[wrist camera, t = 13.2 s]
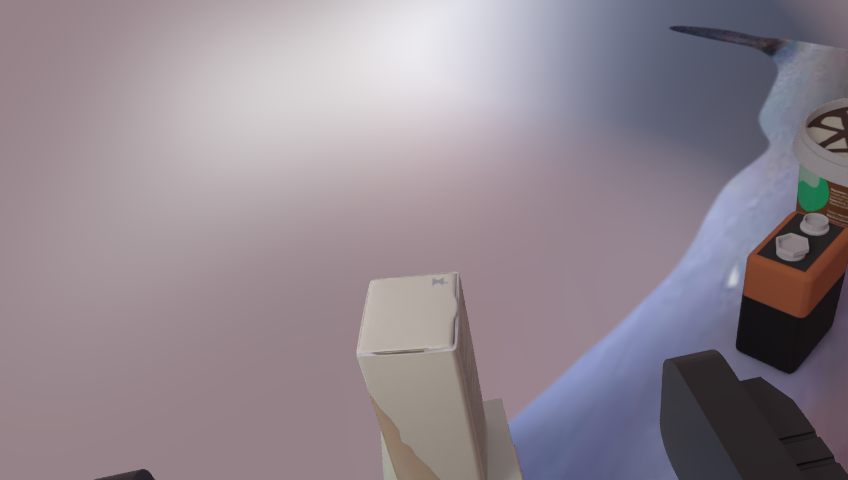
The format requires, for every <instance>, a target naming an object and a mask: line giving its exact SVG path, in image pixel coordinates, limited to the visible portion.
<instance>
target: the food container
mask: <svg viewBox="0 0 848 480" xmlns="http://www.w3.org/2000/svg"><path fill="white" fill-rule="evenodd" d="M793 152H794V155H795V157H796V158H797V160H798V161H799V162H800V169H799V181H798V194H797V206H796V211H797V212H801V213H804V214H810V213H818V214H822V215H824V216H826V217H827V218H828V220H829V222H833V223H836V224H839V225H842V226H845V227H848V98H844V99H839V100H835V101H831V102H829V103H826V104H823V105H821V106H819V107H817V108H816V109H814V110H813V111H812V112H810V114H809V115H808V116H807V117H806V119H805V120H804V121H803V122H802V124H801V126H800V128H799V130H798V133H797V135H796V137H795V139H794V142H793Z"/></svg>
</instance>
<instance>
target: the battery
mask: <svg viewBox="0 0 848 480" xmlns="http://www.w3.org/2000/svg"><path fill="white" fill-rule="evenodd" d="M847 263H848V227H845V226H842V225H839V224H836V223H833V222H829V220H828V218H827V217H826V216H824V215H822V214H818V213H810V214H804V213H801V212H797V211H795V212H792V213H791V214H790V215H788V216H787V217H786V218H785V219H784V220H783V221H782V222H781V223H780V224H779V225H778V226H777V227H776V228H775V229H774V230H773V231H772V232H771V233H770V234H769V235H768V236H767V237H766V238H765V239H764V240H763V241H762V242H761V243H760V244H759V245H758V246H757V247H756V248H755V249H754V250H753V251H752V252H751V253H750V255H749V256H748V258H747V265H746V273H745V280H744V287H743V295H742V302H741V309H740V317H739V324H738V331H737V339H736V348H737V350H739V351H741V352H743V353H745V354H747V355H749V356H751V357H753V358H755V359H758V360H760V361H762V362H764V363H766V364H768V365H770V366H773V367H775V368H777V369H779V370H781V371H783V372H785V373H789V374H790V373H793V372H794V371H795V370H796V369H797V368H798V367H799V366H800V364H801V363H802V362H803V361H804V359H805V358H806V357H807V356H808V354H809V353H810V352H811V351H812V350H813V348H814V347H815V346H816V345H817V343H818V342H819V341H820V340H821V338H822V337H823V336H824V335H825V334H826V332H827V331H828V330H829V329H830V327H831V326H832V324H833V321H834V317H835V313H836V308H837V304H838V300H839V296H840V292H841V288H842V284H843V280H844V276H845V272H846V267H847Z"/></svg>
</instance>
